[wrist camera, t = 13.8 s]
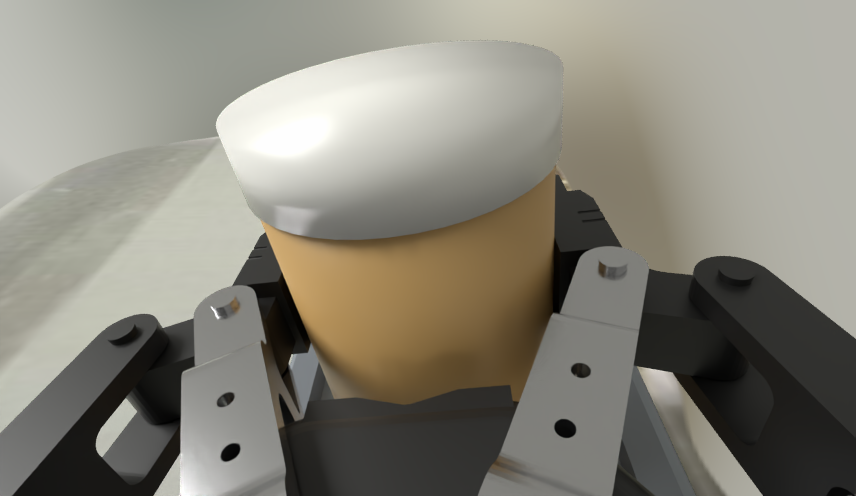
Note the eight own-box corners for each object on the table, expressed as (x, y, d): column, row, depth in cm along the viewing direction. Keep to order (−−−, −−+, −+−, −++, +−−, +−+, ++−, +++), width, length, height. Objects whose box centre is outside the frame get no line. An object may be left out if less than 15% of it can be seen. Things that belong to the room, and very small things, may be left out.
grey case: (272, 782, 14) (145, 730, 10) (342, 409, 25) (298, 302, 21) (723, 781, 13) (822, 720, 8) (591, 390, 24) (603, 271, 19)
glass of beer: (343, 542, 12) (142, 176, 6) (370, 364, 17) (275, 65, 11) (576, 531, 12) (615, 115, 6) (534, 350, 17) (529, 27, 11)
